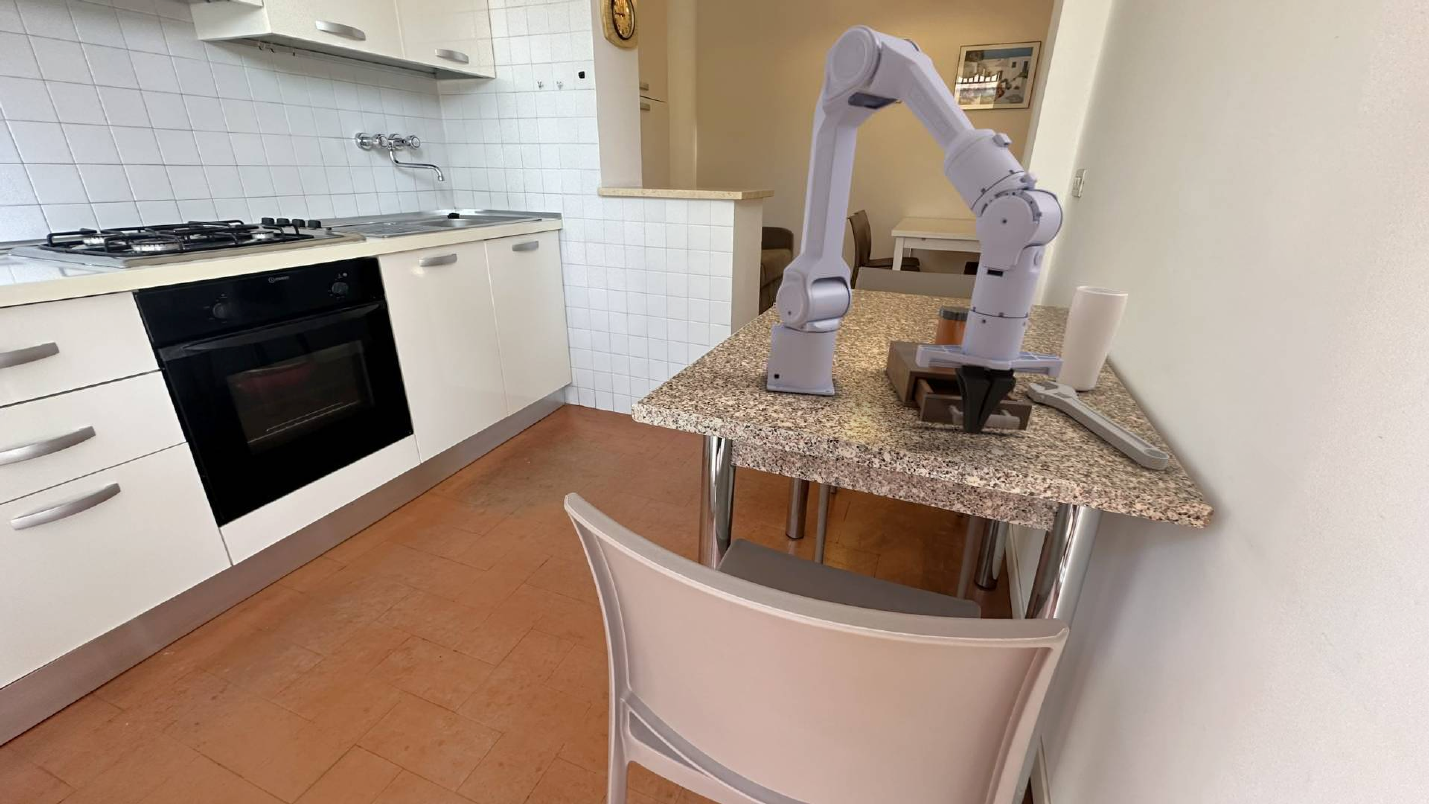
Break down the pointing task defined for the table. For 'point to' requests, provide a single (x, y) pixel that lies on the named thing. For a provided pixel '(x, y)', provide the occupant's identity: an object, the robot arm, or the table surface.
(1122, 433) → the adjustable wrench
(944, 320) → the spice jar
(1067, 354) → the drinking glass
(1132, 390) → the table surface
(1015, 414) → the drawer
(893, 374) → the cabinet
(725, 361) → the table surface
